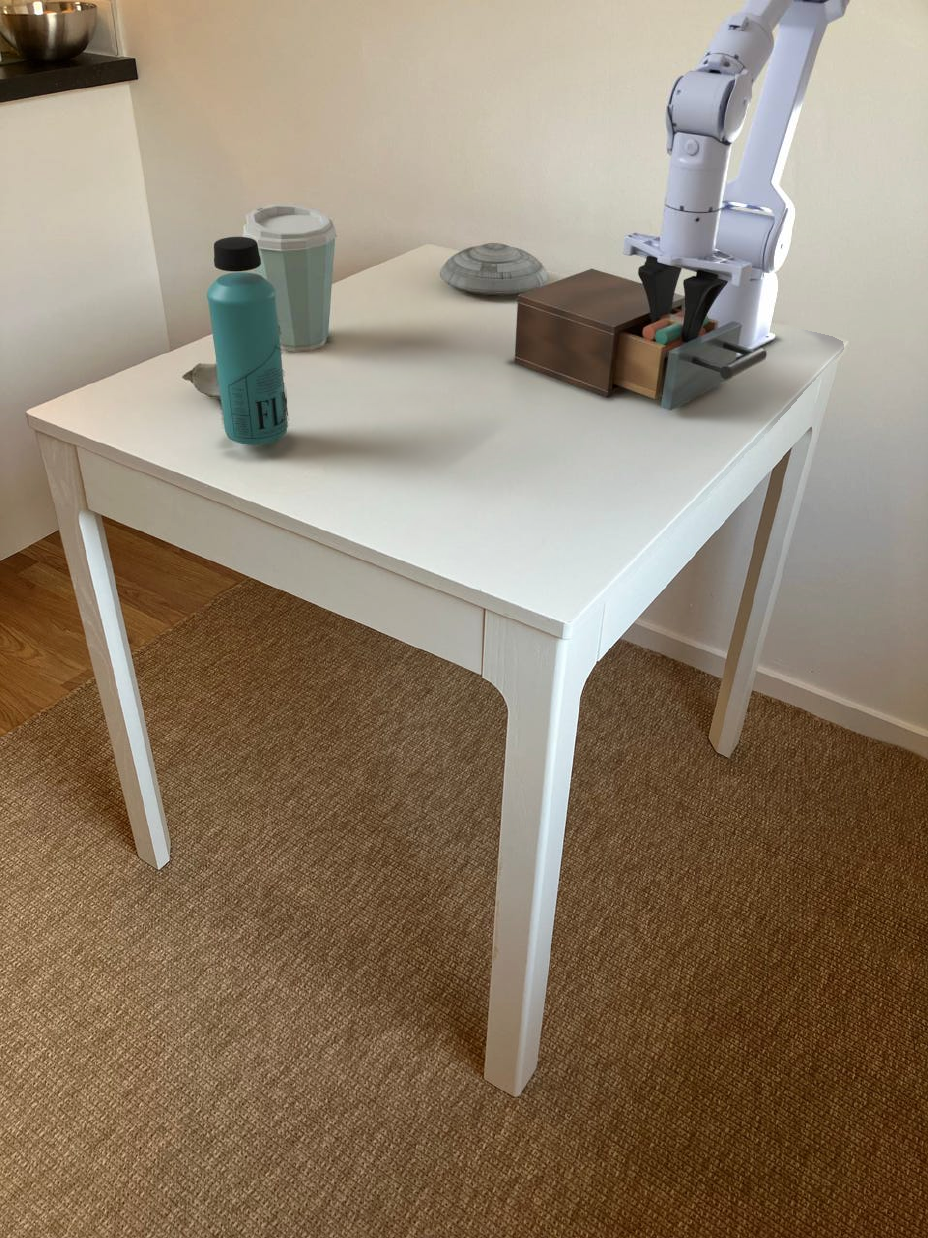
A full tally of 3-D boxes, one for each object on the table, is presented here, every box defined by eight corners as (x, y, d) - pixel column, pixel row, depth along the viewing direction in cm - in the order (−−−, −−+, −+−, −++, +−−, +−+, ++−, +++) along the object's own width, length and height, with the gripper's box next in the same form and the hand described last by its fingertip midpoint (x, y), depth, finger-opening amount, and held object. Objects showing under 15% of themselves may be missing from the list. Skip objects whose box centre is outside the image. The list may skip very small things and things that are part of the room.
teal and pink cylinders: (664, 361, 111) (668, 332, 109) (638, 352, 113) (642, 324, 111) (705, 341, 116) (710, 313, 114) (680, 333, 118) (684, 305, 116)
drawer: (770, 390, 115) (782, 335, 111) (709, 425, 108) (719, 367, 104) (641, 347, 125) (648, 295, 121) (577, 376, 117) (582, 321, 114)
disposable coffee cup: (360, 338, 127) (355, 211, 118) (304, 367, 120) (294, 234, 111) (293, 320, 132) (283, 196, 123) (235, 347, 125) (220, 217, 116)
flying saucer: (512, 311, 136) (514, 269, 133) (418, 288, 143) (418, 247, 139) (567, 280, 146) (570, 240, 143) (477, 260, 153) (478, 221, 150)
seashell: (239, 427, 111) (278, 384, 116) (237, 405, 109) (276, 362, 113) (173, 401, 113) (214, 359, 117) (169, 379, 110) (211, 337, 115)
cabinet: (676, 364, 123) (686, 296, 118) (607, 398, 115) (614, 326, 110) (585, 333, 130) (591, 268, 126) (514, 362, 122) (517, 294, 118)
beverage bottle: (261, 466, 101) (239, 256, 89) (210, 448, 103) (182, 242, 92) (304, 440, 105) (288, 237, 93) (254, 424, 108) (232, 225, 96)
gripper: (611, 197, 107) (598, 326, 115) (734, 228, 99) (711, 363, 107) (651, 185, 111) (636, 310, 119) (772, 214, 103) (747, 345, 111)
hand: (674, 334), depth 114 cm, fingers closed on teal and pink cylinders, 3 cm apart
